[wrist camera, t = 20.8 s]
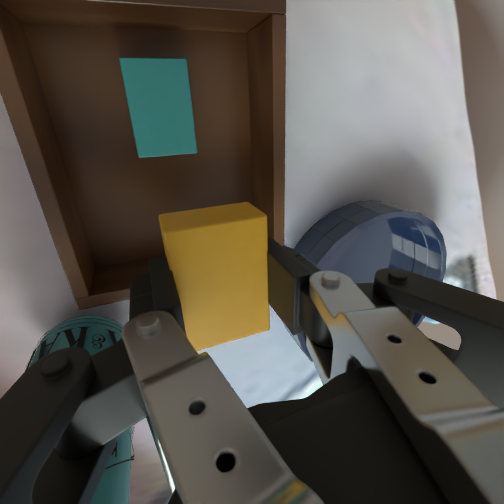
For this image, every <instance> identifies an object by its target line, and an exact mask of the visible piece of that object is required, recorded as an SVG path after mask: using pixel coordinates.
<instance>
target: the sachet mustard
mask: <svg viewBox="0 0 504 504" xmlns="http://www.w3.org/2000/svg"><path fill="white" fill-rule="evenodd" d="M158 217H159V223H160V228H161V233H162V239H163V244H164V249H165V255H166V257H167V261H168V265H169V269H170V270H172V272H173V276H174V280H175V284H176V287H177V291H178V295H179V299H180V302H181V307H182V313H183V318H184V324H185V330H186V335H187V338H188V340H189V341H190V343H191V344H192V346H193V347H194V349H195V350H196V351H198V350H202V349H205V348H209V347H212V346H216V345H219V344H223V343H226V342H229V341H233V340H236V339H240V338H243V337H247V336H250V335H254V334H257V333H260V332H264V331H267V330H269V329H270V319H269V303H268V270H267V251H268V233H267V215H266V214H264V213H263V212H262V211H260V210H259V209H257V208H256V207H254V206H253V205H252V204H250V203H249V202H242V203H235V204H228V205H221V206H214V207H207V208H200V209H193V210H186V211H179V212H172V213H165V214H160V215H159V216H158Z"/></svg>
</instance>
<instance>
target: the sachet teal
mask: <svg viewBox="0 0 504 504" xmlns="http://www.w3.org/2000/svg"><path fill="white" fill-rule="evenodd" d="M119 61H120V67H121V72H122V77H123V82H124V87H125V92H126V97H127V102H128V107H129V112H130V117H131V122H132V127H133V132H134V137H135V142H136V147H137V152H138V157H139V158H144V157H156V156H168V155H180V154H193V153H197V144H196V136H195V127H194V118H193V109H192V101H191V92H190V83H189V74H188V66H187V59H186V58H138V57H120V58H119Z"/></svg>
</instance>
